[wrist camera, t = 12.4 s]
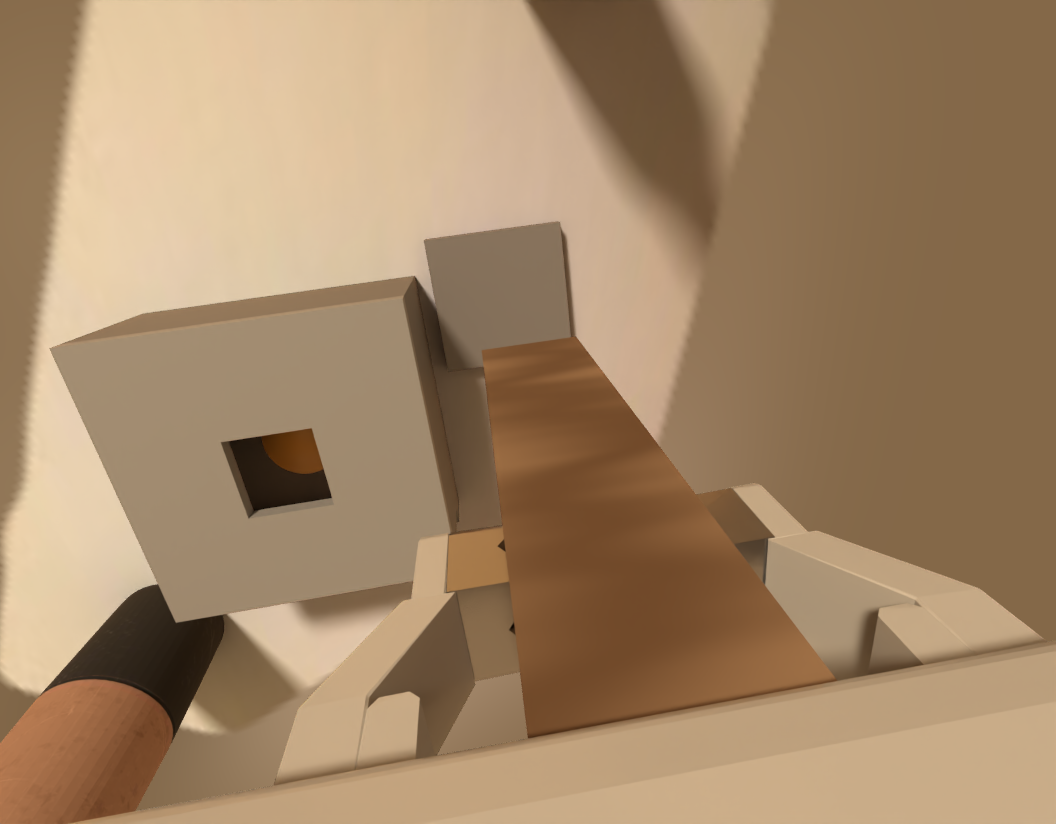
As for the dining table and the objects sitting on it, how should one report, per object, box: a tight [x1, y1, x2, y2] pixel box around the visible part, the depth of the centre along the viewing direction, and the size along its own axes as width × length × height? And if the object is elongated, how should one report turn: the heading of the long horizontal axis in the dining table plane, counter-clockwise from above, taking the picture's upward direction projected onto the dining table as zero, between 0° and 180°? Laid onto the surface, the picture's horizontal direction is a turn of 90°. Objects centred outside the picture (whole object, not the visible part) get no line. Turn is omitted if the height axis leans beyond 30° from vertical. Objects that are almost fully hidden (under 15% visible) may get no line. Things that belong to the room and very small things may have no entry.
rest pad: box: [424, 222, 571, 372], centre depth 34 cm, size 8×8×1 cm
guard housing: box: [49, 276, 459, 623], centre depth 32 cm, size 16×16×8 cm
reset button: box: [262, 428, 324, 474], centre depth 34 cm, size 4×4×2 cm
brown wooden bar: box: [482, 337, 837, 738], centre depth 11 cm, size 3×3×16 cm
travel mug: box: [0, 585, 224, 824], centre depth 31 cm, size 8×8×20 cm
